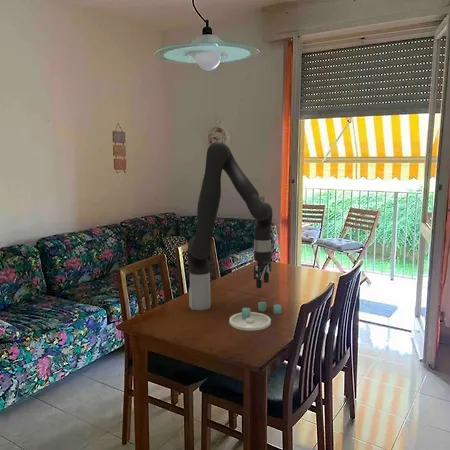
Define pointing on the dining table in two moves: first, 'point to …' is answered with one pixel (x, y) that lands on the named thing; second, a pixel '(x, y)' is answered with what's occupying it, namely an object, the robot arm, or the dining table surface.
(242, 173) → the robot arm
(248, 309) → the bead
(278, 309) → the bead
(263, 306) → the bead
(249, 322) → the groove dish
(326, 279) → the dining table surface
